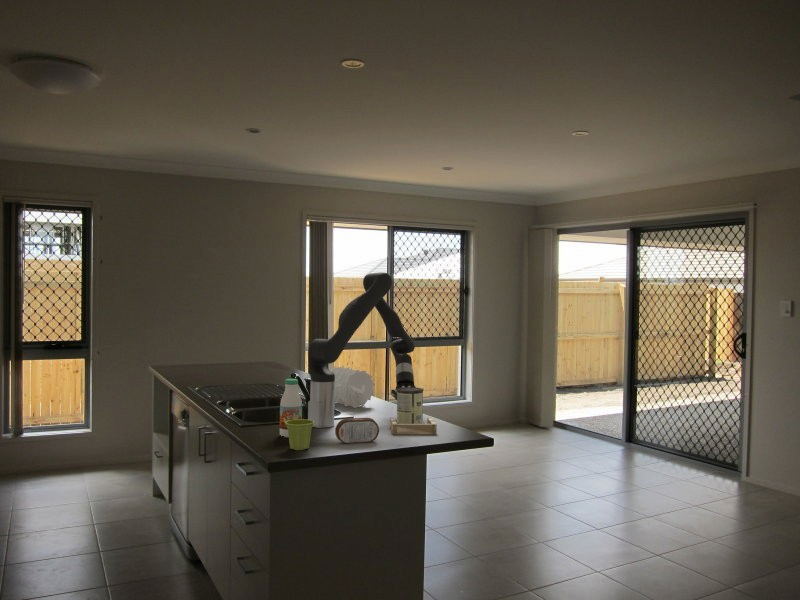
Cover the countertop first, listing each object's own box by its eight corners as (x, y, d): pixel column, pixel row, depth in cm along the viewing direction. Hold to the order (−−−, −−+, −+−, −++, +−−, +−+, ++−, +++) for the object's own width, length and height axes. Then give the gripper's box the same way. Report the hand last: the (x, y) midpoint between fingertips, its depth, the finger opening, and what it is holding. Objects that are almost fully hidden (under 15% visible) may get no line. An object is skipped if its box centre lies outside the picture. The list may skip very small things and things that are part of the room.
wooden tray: (389, 426, 249) (389, 417, 249) (431, 426, 251) (431, 417, 251) (392, 434, 236) (392, 424, 236) (436, 434, 237) (436, 424, 237)
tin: (377, 440, 225) (377, 416, 225) (379, 442, 222) (380, 418, 222) (334, 443, 220) (335, 418, 220) (336, 445, 217) (337, 420, 217)
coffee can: (401, 421, 260) (401, 386, 260) (425, 423, 257) (426, 388, 257) (392, 426, 251) (393, 389, 251) (418, 428, 247) (418, 391, 247)
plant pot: (284, 452, 206) (285, 424, 206) (284, 445, 215) (285, 419, 215) (314, 451, 207) (314, 424, 207) (313, 444, 217) (313, 418, 217)
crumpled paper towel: (339, 409, 310) (369, 414, 290) (310, 396, 300) (339, 400, 281) (352, 373, 315) (383, 376, 296) (324, 359, 306) (354, 361, 286)
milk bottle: (277, 434, 233) (278, 378, 233) (298, 432, 236) (299, 377, 236) (282, 438, 226) (283, 381, 226) (304, 437, 229) (305, 380, 229)
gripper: (389, 370, 271) (391, 404, 259) (421, 370, 272) (424, 404, 260) (388, 381, 276) (390, 415, 264) (419, 381, 278) (422, 415, 265)
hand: (407, 410), depth 262 cm, fingers closed
